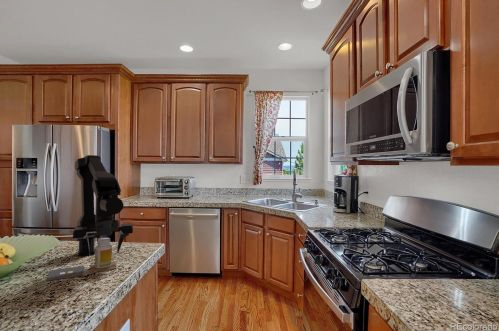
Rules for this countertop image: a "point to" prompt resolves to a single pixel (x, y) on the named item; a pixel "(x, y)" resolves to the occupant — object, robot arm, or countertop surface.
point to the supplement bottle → (103, 253)
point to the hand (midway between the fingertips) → (103, 254)
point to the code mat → (65, 273)
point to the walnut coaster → (93, 269)
